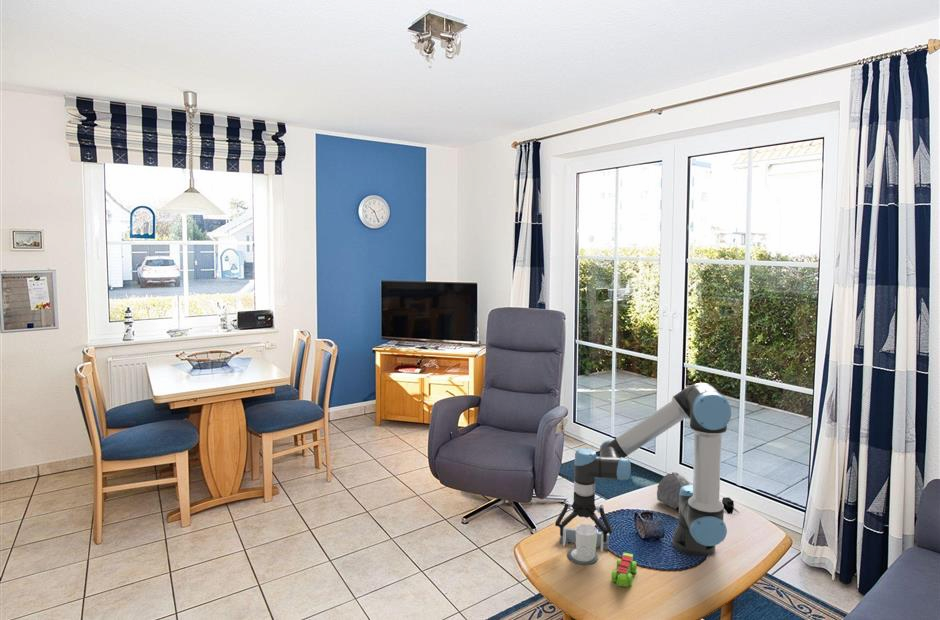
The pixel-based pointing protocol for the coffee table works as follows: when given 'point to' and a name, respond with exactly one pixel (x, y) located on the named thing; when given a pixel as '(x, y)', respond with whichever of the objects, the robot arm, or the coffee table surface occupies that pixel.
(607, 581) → the coffee table surface
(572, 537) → the grey rectangular bar
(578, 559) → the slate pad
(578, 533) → the white cup
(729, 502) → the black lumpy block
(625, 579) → the toy crocodile
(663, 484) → the decorative rock
